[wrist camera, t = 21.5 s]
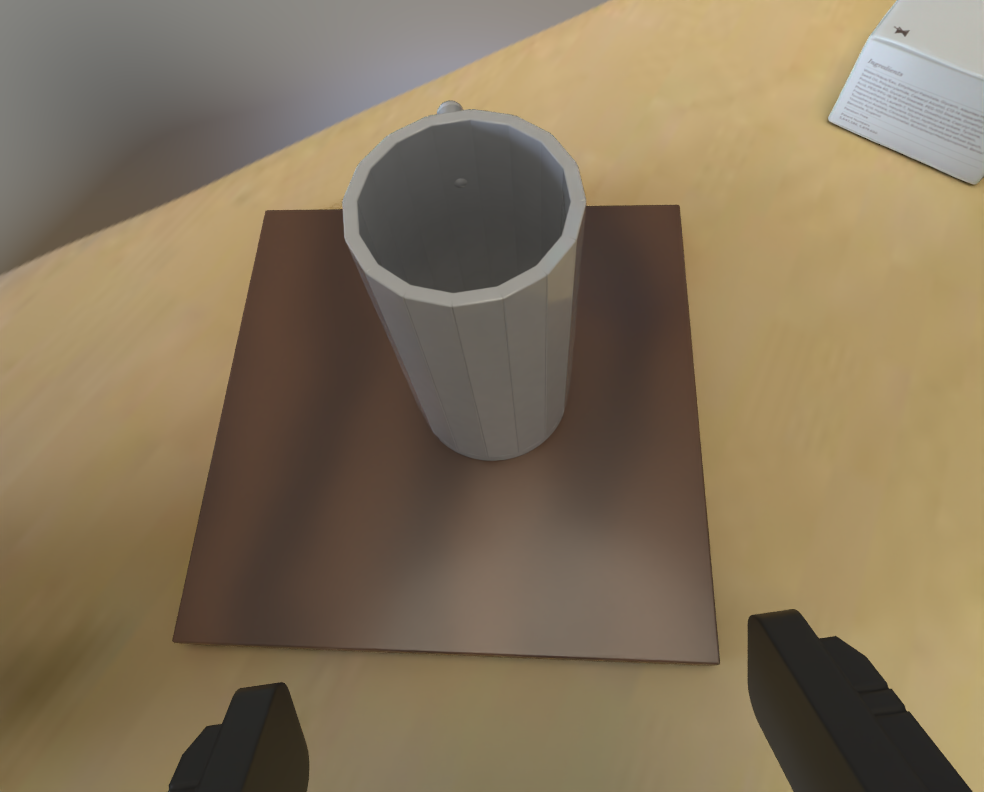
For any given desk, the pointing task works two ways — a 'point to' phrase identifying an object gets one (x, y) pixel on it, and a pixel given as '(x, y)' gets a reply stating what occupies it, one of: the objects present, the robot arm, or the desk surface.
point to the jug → (474, 272)
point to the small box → (922, 86)
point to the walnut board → (456, 476)
